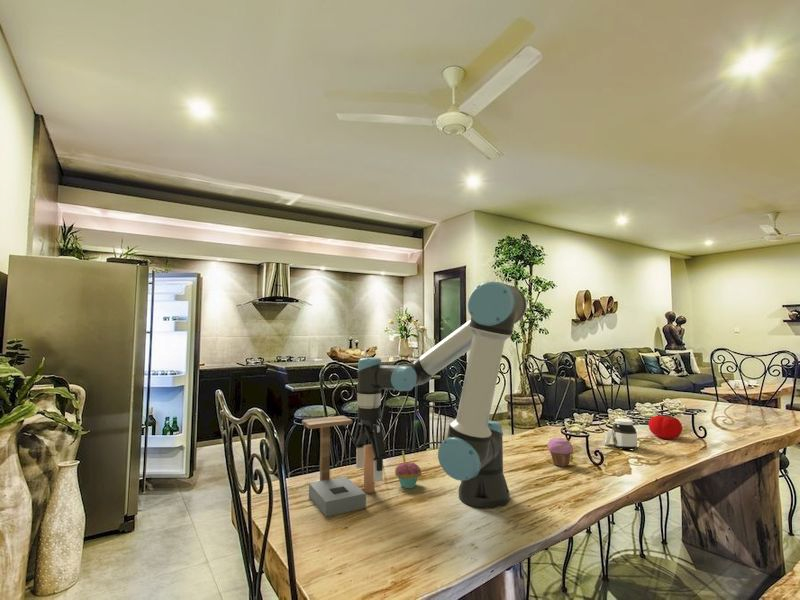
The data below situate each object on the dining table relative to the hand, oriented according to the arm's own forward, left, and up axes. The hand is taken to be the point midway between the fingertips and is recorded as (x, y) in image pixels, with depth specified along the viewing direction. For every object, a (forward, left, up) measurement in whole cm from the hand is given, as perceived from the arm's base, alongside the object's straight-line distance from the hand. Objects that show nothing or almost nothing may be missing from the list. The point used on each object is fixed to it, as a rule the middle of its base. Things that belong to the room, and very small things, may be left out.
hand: (368, 474), depth 132 cm
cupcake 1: (-2, -13, -5) cm, 14 cm away
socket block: (-3, +12, -5) cm, 13 cm away
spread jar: (-8, -114, -5) cm, 114 cm away
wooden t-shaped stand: (+6, +12, -5) cm, 14 cm away
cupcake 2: (-12, -73, -5) cm, 74 cm away
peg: (0, 0, -5) cm, 5 cm away
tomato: (-9, -147, -5) cm, 147 cm away
